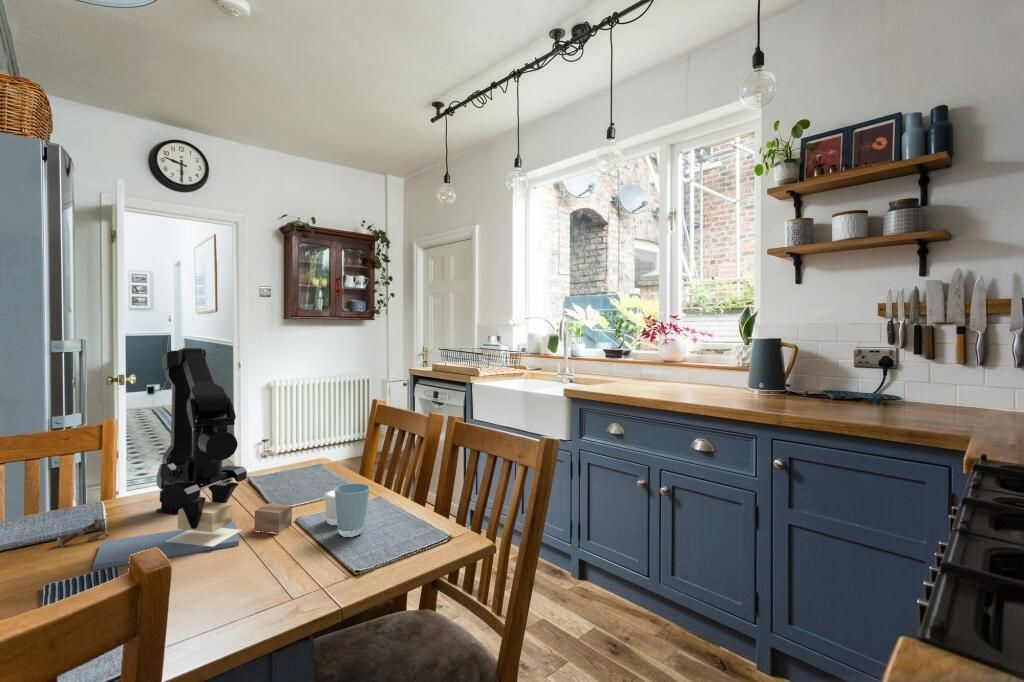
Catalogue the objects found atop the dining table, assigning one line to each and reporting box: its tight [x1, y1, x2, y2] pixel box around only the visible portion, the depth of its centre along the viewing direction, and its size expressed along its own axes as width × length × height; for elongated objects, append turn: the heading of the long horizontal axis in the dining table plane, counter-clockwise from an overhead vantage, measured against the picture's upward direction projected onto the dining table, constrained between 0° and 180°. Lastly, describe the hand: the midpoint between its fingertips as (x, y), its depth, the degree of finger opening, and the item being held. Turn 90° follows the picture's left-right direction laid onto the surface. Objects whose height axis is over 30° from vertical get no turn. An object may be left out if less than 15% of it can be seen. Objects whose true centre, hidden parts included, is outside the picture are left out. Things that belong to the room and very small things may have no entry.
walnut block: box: [253, 503, 293, 534], centre depth 116 cm, size 5×6×5 cm
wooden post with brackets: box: [56, 517, 110, 548], centre depth 105 cm, size 2×8×4 cm, turn 130°
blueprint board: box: [92, 521, 243, 571], centre depth 105 cm, size 25×14×1 cm, turn 123°
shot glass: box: [324, 489, 337, 519], centre depth 122 cm, size 7×7×7 cm
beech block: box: [177, 500, 234, 532], centre depth 108 cm, size 6×8×4 cm
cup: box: [334, 482, 371, 531], centre depth 115 cm, size 8×8×10 cm
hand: (205, 522), depth 108 cm, fingers closed on beech block, 6 cm apart
